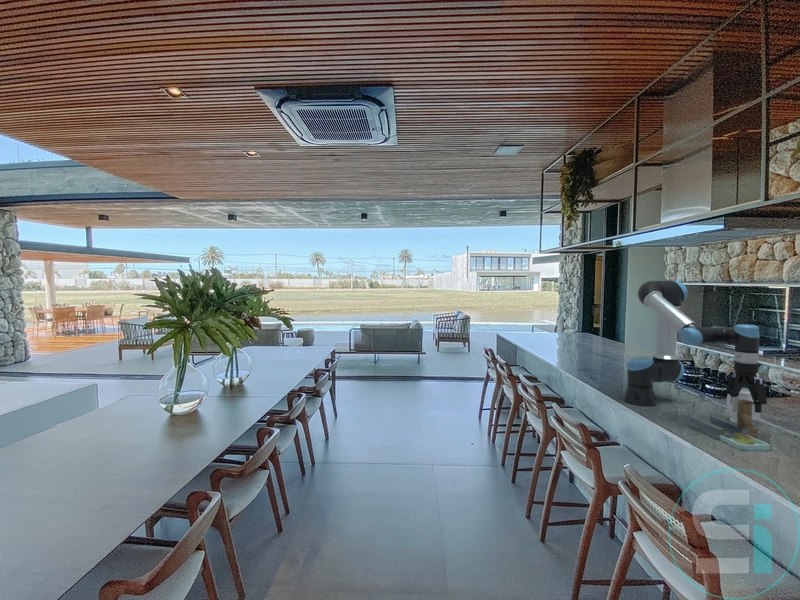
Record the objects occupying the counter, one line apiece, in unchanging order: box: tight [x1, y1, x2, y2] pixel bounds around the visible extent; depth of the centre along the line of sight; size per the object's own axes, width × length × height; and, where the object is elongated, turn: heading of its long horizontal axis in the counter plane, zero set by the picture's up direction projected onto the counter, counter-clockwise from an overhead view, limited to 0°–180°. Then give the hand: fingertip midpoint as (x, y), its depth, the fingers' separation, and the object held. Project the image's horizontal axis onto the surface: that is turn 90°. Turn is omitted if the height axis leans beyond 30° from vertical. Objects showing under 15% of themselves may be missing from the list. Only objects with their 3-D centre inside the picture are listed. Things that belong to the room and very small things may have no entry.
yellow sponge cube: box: [740, 436, 755, 445], centre depth 147 cm, size 3×3×3 cm
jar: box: [726, 387, 758, 426], centre depth 172 cm, size 11×10×15 cm
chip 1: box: [734, 433, 747, 443], centre depth 151 cm, size 3×3×3 cm
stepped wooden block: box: [737, 399, 758, 437], centre depth 160 cm, size 5×6×14 cm
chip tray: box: [718, 435, 772, 452], centre depth 149 cm, size 10×11×2 cm
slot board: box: [688, 415, 749, 441], centre depth 162 cm, size 16×12×4 cm
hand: (745, 415), depth 160 cm, fingers open, 9 cm apart
